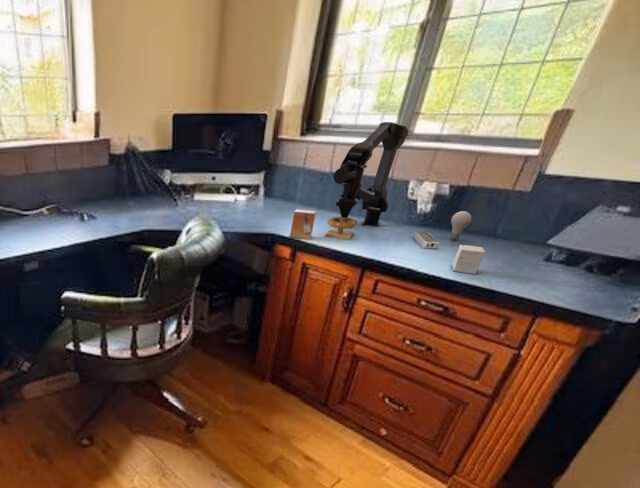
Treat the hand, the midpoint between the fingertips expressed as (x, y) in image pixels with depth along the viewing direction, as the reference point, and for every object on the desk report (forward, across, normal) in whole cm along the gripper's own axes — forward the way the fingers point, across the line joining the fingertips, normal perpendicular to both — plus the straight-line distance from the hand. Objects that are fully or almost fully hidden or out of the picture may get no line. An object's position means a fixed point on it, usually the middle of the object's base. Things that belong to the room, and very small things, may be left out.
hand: (344, 220), depth 174 cm
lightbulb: (+6, +11, -39) cm, 41 cm away
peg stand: (+5, -4, 0) cm, 7 cm away
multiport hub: (+6, +1, -30) cm, 30 cm away
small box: (+6, -14, +13) cm, 20 cm away
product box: (+6, -27, -42) cm, 50 cm away
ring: (0, -4, 0) cm, 4 cm away
